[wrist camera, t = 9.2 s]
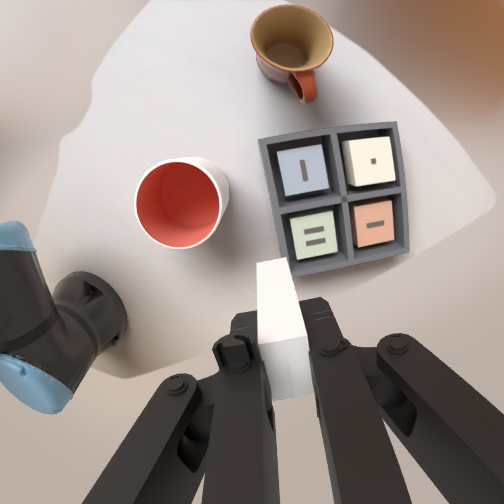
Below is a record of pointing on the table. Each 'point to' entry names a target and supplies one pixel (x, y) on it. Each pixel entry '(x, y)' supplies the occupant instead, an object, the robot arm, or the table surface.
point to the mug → (292, 47)
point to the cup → (181, 201)
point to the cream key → (368, 161)
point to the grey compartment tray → (336, 196)
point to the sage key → (312, 232)
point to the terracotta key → (371, 221)
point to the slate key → (302, 169)
